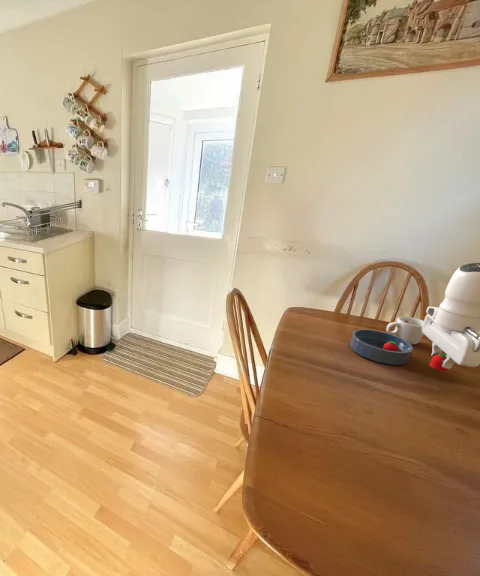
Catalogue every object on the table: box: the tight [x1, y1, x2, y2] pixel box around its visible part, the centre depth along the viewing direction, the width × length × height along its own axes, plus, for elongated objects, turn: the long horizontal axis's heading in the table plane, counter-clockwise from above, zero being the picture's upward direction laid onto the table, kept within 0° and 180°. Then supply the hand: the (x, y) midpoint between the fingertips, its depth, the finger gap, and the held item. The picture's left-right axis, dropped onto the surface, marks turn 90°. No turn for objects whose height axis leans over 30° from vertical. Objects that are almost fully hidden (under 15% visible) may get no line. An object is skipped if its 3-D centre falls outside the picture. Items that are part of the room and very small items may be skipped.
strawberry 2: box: [429, 352, 448, 372], centre depth 92 cm, size 4×4×4 cm
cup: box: [385, 315, 425, 345], centre depth 112 cm, size 11×8×8 cm
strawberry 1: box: [383, 341, 398, 352], centre depth 104 cm, size 4×4×4 cm
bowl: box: [348, 328, 414, 366], centre depth 105 cm, size 15×15×5 cm
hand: (440, 362), depth 92 cm, fingers closed on strawberry 2, 3 cm apart
